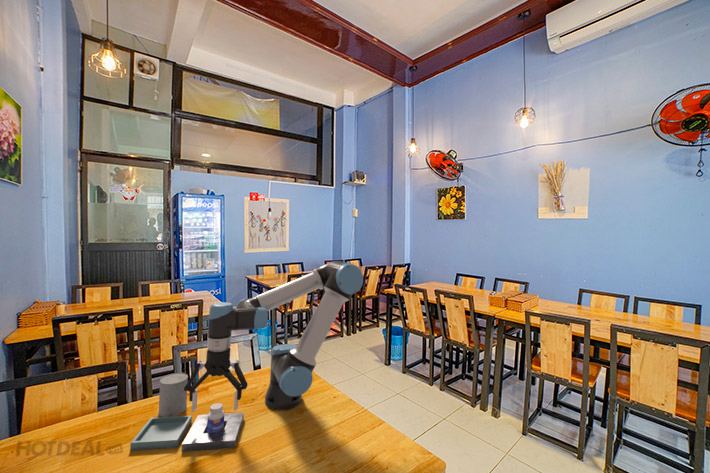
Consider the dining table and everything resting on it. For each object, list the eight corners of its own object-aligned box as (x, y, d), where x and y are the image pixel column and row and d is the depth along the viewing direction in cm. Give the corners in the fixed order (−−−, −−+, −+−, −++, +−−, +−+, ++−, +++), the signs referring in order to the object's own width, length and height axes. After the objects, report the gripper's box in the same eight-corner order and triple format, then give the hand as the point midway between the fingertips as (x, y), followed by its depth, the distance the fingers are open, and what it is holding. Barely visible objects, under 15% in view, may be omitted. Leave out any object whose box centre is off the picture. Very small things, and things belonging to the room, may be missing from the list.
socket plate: (243, 419, 117) (243, 412, 117) (234, 448, 101) (234, 440, 101) (198, 421, 114) (198, 414, 114) (181, 451, 98) (181, 444, 98)
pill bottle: (212, 441, 104) (214, 412, 104) (203, 435, 107) (204, 407, 106) (227, 433, 108) (228, 405, 108) (217, 427, 111) (218, 400, 111)
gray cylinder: (173, 418, 115) (175, 385, 115) (152, 414, 117) (153, 382, 117) (192, 405, 124) (193, 374, 124) (171, 401, 126) (173, 371, 126)
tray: (191, 422, 113) (191, 415, 113) (176, 447, 100) (177, 439, 100) (150, 424, 111) (151, 417, 111) (130, 450, 98) (130, 442, 98)
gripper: (175, 352, 101) (171, 417, 101) (254, 352, 106) (250, 414, 106) (184, 344, 109) (180, 404, 109) (257, 344, 113) (254, 402, 113)
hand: (215, 409), depth 107 cm, fingers open, 13 cm apart
